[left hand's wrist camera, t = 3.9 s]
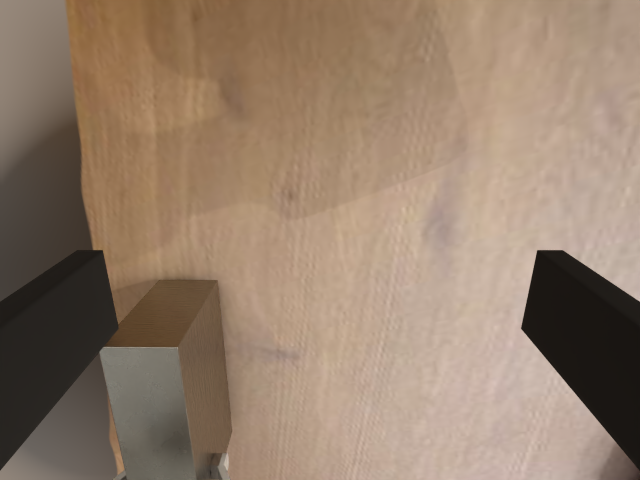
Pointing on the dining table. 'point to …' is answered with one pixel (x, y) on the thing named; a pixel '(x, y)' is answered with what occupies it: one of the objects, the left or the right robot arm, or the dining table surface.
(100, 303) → the left robot arm
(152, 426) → the box
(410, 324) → the dining table surface
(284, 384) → the dining table surface
